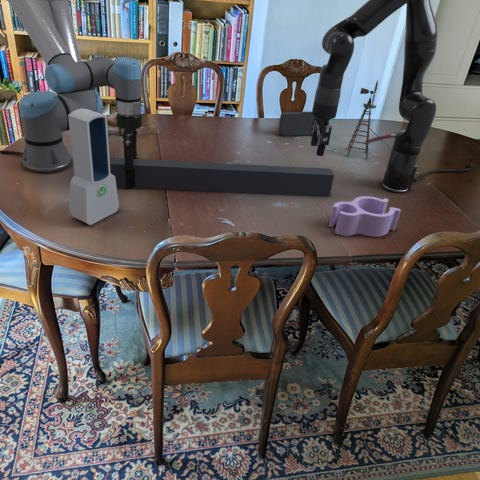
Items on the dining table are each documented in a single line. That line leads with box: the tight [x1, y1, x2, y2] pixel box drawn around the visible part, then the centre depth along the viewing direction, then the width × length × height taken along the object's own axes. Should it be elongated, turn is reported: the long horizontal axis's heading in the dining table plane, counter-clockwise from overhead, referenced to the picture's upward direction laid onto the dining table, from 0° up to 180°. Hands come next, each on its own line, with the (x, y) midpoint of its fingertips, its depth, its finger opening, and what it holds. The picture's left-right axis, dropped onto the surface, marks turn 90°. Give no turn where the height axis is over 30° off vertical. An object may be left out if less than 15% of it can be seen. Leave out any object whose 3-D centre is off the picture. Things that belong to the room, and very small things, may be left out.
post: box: [109, 157, 335, 198], centre depth 154 cm, size 73×5×8 cm, turn 95°
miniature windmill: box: [346, 80, 379, 160], centre depth 186 cm, size 9×8×30 cm
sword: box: [368, 132, 397, 143], centre depth 214 cm, size 31×3×1 cm, turn 126°
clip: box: [328, 195, 401, 238], centre depth 141 cm, size 20×12×7 cm, turn 109°
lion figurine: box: [107, 116, 124, 136], centre depth 186 cm, size 15×5×9 cm, turn 110°
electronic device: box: [68, 109, 120, 226], centre depth 127 cm, size 12×8×30 cm, turn 148°
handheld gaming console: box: [278, 111, 314, 137], centre depth 205 cm, size 23×3×10 cm, turn 108°
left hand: (131, 183), depth 152 cm, fingers closed on post, 5 cm apart
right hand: (316, 150), depth 152 cm, fingers open, 8 cm apart
